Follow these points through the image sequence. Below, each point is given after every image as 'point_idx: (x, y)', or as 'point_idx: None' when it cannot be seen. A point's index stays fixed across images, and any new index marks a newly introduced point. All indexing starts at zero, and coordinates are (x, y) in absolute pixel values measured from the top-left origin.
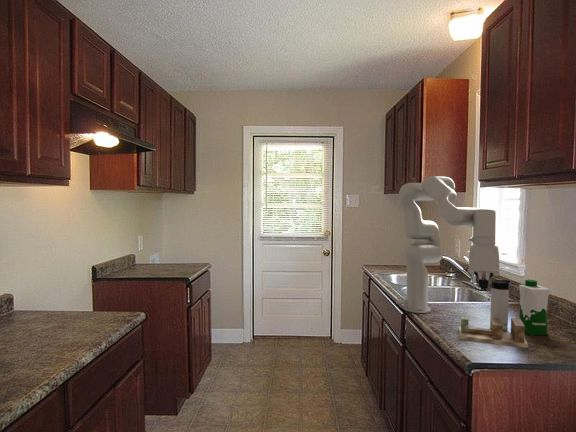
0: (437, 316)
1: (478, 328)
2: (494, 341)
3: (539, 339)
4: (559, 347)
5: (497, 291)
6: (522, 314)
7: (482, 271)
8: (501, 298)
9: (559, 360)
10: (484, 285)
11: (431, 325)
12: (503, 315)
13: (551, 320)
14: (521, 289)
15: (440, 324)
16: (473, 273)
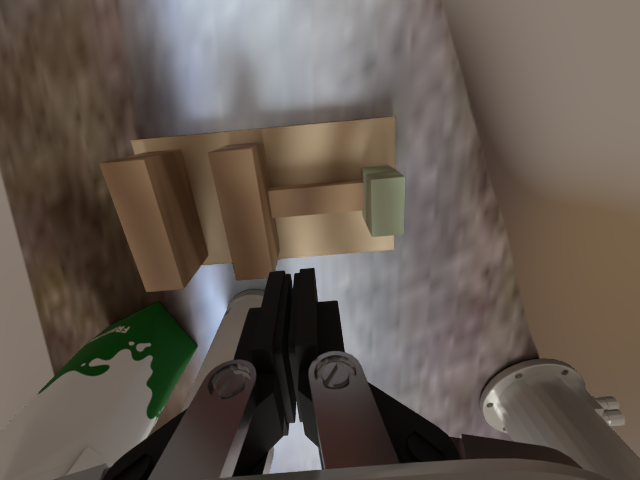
0: (459, 356)
1: (321, 205)
2: (256, 129)
3: (122, 266)
4: (47, 208)
5: None
6: (154, 369)
7: (293, 477)
8: None
9: (6, 31)
10: (279, 301)
11: (493, 242)
12: (224, 332)
13: None
14: None
15: (456, 271)
16: (461, 455)
